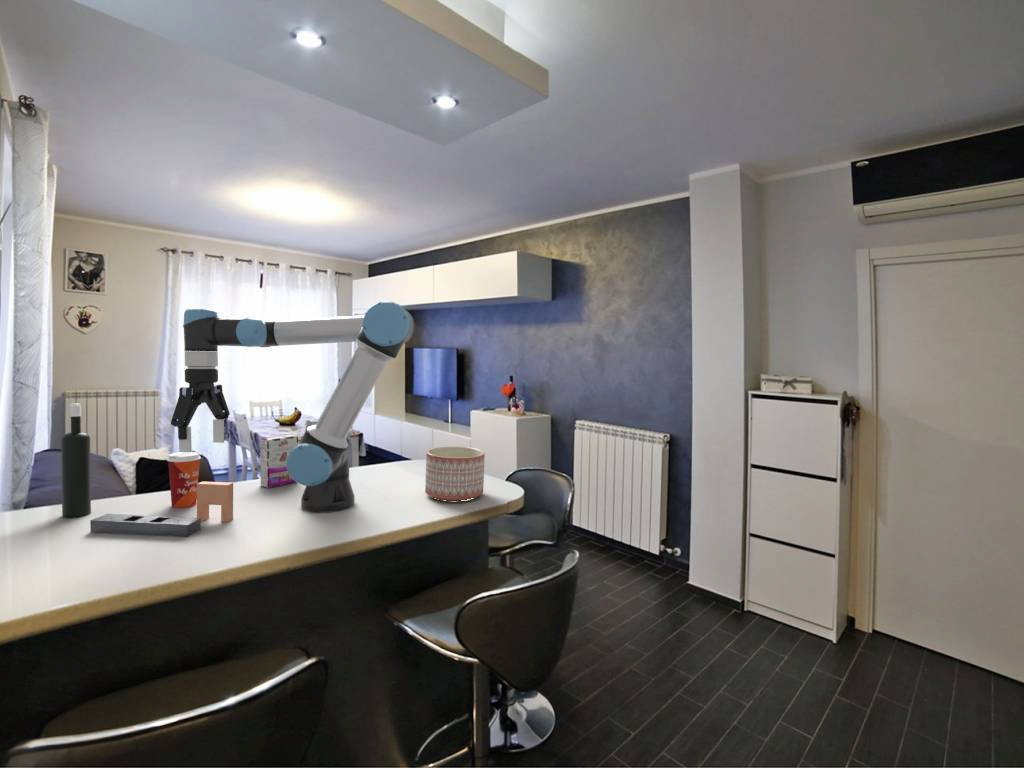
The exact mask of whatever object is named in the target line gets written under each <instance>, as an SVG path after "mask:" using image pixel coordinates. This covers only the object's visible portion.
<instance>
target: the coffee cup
mask: <svg viewBox="0 0 1024 768" xmlns="http://www.w3.org/2000/svg"><path fill="white" fill-rule="evenodd" d="M201 459H202V457H201V455H200V453H199V452H198V451H197V452H196V451H192V452H179V451H178V452H172V453H170V454H169V455H168V458H167V459H166V461H167V462H168V473H169V487H170V488H169V489H170V502H171V503H170V504H171V507H172V508H174V509H184V508H190V507H194V506H196V505H197V483H199V475H200V473H199V471H200V461H201Z"/></svg>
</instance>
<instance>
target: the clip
mask: <svg viewBox="0 0 1024 768" xmlns="http://www.w3.org/2000/svg"><path fill="white" fill-rule="evenodd" d="M210 505H211V506H212V505H213V506H220V513H221V514H220V522H221V523H228V522H231V521H232V520H234V482H223V481H222V482H221V481H201V482H198V483H197V501H196V518H201V522H204V521H206V520H208V519H210Z"/></svg>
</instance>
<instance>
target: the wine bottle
mask: <svg viewBox="0 0 1024 768" xmlns="http://www.w3.org/2000/svg"><path fill="white" fill-rule="evenodd" d="M69 412H70V413H69V414H70V415H69V417H70V432H68V433H65V434H64V435H63V436H62V437H61V440H60V441H61V443H60V445H61V448H60V449H61V508H62V511H61V513H62V514H61V516H63V517H62V518H64V517H65V518H64V519H74V518H73V517H76V518H80V517H81V516H82V517H85V516H88V515H90V514H91V513H92V506H91V504H92V501H91V500H92V498H91V496H92V495H91V494H92V493H91V490H92V489H91V487H92V486H91V485H92V484H91V482H92V481H91V437H90V435H89V434H88V433H87V432H83V431H82V430H81V429H82V427H81V426H82V424H81V423H82V422H81V421H82V420H81V419H82V418H81V417H82V403H81V402H79V403H78V402H75V403H74V402H73V403H69Z"/></svg>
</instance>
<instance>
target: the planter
mask: <svg viewBox="0 0 1024 768" xmlns="http://www.w3.org/2000/svg"><path fill="white" fill-rule="evenodd" d="M425 453H426V455H425V459H426V460H425V486H424V488H425V489H424V492H425V494H426V495H428V496H429V497H431V496H432V497H433V498H436V499H439V500H446V501H461V500H467V499H471V498H475V497H480V496H482V495H483V493H484V480H485V478H484V477H485V457H486V456H485V455H486V454H485V451H484V450H482V449H480V448H476V447H471V446H470V447H469V446H456V445H455V446H448V445H447V446H438V447H432V448H429V449H428V450H426V451H425ZM432 497H431V498H432ZM433 498H432V499H433ZM475 499H476V498H475ZM439 500H438V501H439Z"/></svg>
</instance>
